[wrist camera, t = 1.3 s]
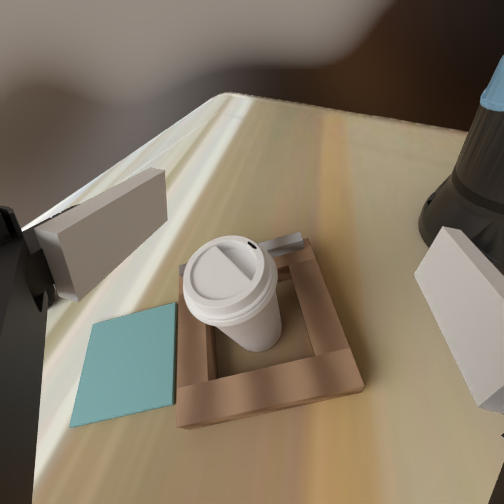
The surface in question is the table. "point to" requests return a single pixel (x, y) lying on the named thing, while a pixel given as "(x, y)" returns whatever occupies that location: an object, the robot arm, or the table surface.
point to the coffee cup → (235, 291)
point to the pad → (128, 366)
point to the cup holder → (274, 377)
